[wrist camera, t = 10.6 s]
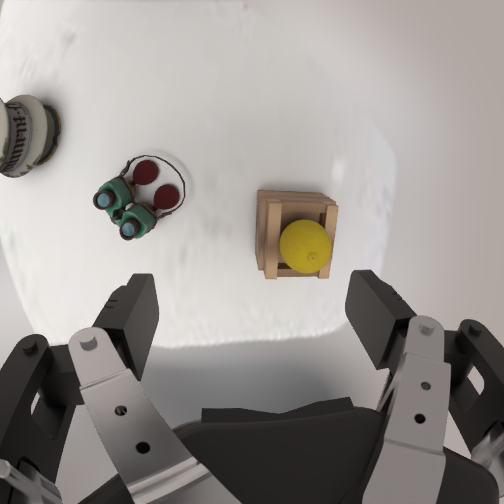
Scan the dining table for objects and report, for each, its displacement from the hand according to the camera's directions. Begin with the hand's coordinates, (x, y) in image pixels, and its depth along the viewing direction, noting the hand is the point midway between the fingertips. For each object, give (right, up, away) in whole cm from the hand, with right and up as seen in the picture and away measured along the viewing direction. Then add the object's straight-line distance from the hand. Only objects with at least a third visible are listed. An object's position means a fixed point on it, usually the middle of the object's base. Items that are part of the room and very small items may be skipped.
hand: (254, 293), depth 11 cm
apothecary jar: (-33, +20, +21) cm, 44 cm away
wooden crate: (+5, +6, +29) cm, 30 cm away
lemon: (+6, +4, +23) cm, 24 cm away
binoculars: (-14, +11, +26) cm, 31 cm away
